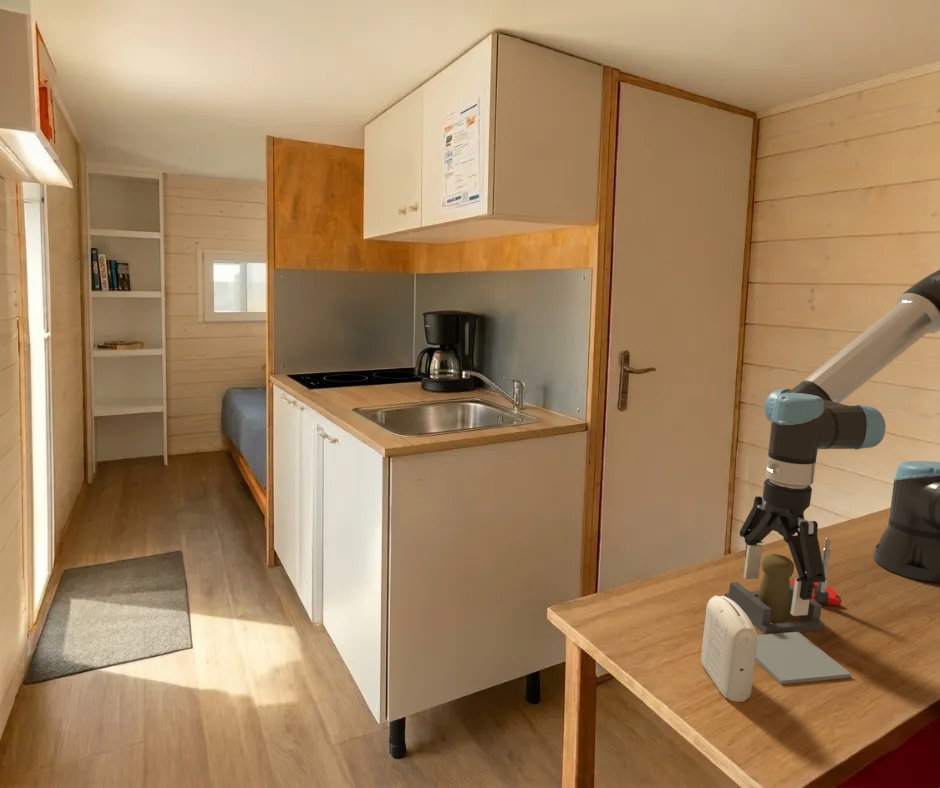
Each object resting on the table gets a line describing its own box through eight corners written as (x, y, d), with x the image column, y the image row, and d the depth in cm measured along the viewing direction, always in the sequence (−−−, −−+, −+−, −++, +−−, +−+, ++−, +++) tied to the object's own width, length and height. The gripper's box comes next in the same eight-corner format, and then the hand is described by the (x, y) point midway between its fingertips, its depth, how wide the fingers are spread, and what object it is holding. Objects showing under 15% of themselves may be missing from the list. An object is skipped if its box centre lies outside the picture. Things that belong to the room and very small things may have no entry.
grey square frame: (777, 595, 125) (780, 576, 124) (823, 630, 113) (826, 608, 112) (724, 599, 123) (726, 579, 122) (765, 634, 111) (767, 613, 110)
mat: (797, 634, 111) (798, 631, 111) (850, 677, 99) (851, 673, 99) (734, 640, 109) (734, 636, 109) (780, 684, 97) (780, 680, 97)
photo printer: (754, 703, 93) (764, 623, 90) (725, 703, 92) (734, 623, 90) (723, 660, 103) (731, 588, 101) (696, 661, 103) (704, 588, 100)
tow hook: (781, 583, 131) (797, 603, 122) (788, 521, 129) (805, 537, 120) (826, 587, 130) (845, 608, 121) (833, 525, 128) (854, 541, 119)
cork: (777, 626, 114) (784, 567, 112) (746, 610, 119) (753, 554, 117) (797, 617, 117) (805, 560, 115) (766, 602, 122) (773, 547, 120)
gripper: (728, 462, 125) (716, 565, 128) (819, 507, 101) (802, 633, 104) (763, 461, 126) (750, 563, 130) (861, 506, 102) (842, 630, 106)
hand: (773, 595), depth 117 cm, fingers open, 13 cm apart
